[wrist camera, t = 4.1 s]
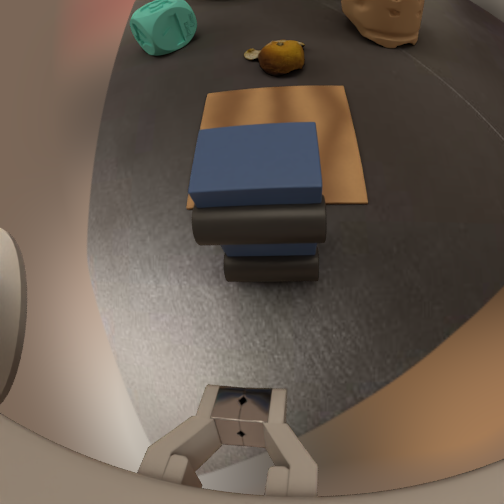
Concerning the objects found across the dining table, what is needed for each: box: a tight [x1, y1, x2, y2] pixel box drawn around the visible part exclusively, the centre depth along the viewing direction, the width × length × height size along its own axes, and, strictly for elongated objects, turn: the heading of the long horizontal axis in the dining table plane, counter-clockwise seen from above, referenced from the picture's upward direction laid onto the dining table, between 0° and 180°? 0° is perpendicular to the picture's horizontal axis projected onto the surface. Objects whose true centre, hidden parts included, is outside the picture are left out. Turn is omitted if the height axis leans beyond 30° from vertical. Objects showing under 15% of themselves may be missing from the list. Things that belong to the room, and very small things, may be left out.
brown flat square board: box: [186, 86, 368, 210], centre depth 29 cm, size 16×16×1 cm
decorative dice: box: [130, 0, 197, 56], centre depth 37 cm, size 8×8×8 cm
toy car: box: [188, 122, 326, 282], centre depth 19 cm, size 6×6×12 cm
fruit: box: [244, 40, 305, 76], centre depth 33 cm, size 8×8×4 cm
